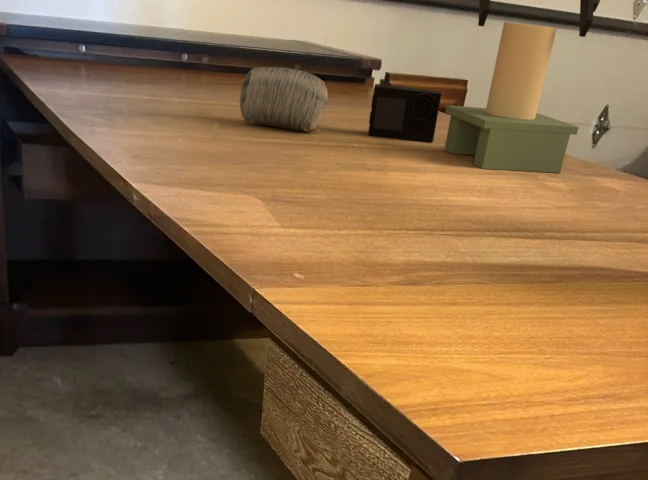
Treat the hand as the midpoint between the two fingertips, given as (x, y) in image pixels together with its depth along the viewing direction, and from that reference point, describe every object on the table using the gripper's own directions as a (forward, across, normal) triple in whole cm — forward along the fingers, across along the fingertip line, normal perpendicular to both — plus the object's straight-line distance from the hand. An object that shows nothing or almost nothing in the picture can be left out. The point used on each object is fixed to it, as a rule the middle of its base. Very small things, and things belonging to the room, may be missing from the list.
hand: (534, 23), depth 108 cm
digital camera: (+1, +14, -23) cm, 27 cm away
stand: (+10, 0, -14) cm, 17 cm away
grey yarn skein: (+4, +33, -21) cm, 39 cm away
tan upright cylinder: (+6, 0, -10) cm, 12 cm away
